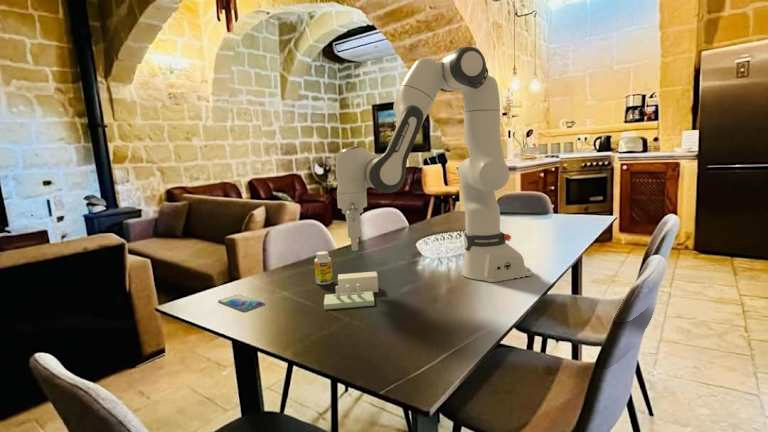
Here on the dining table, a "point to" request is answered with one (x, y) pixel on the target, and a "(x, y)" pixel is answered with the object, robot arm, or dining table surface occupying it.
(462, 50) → the robot arm
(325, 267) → the supplement bottle
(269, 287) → the dining table surface
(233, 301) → the smartphone
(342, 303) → the board
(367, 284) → the block
